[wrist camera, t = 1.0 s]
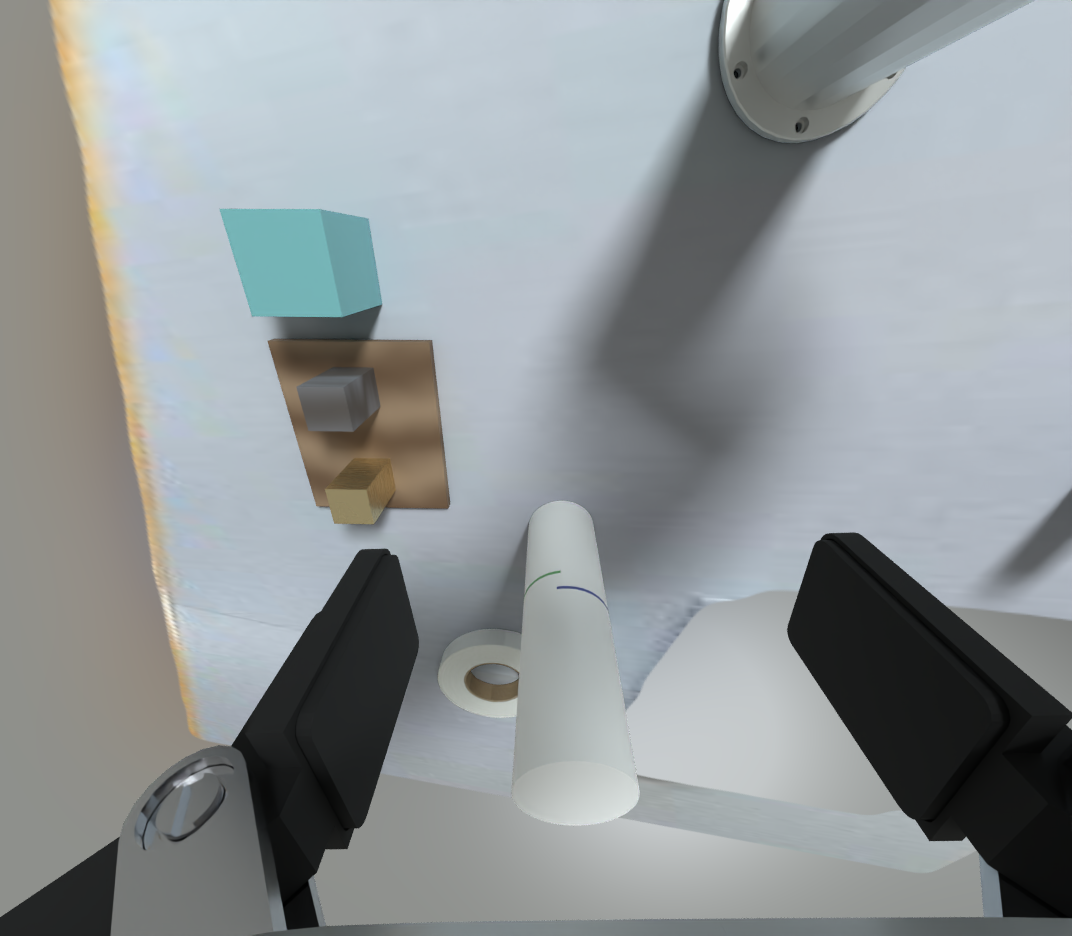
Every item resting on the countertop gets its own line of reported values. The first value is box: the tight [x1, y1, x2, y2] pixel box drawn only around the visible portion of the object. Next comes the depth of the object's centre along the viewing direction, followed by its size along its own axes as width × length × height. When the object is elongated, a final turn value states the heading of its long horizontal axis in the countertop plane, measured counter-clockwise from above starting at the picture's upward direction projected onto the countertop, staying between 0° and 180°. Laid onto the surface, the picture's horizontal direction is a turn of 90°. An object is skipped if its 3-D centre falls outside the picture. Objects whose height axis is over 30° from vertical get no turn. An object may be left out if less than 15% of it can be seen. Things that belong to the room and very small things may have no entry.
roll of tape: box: [438, 629, 522, 718], centre depth 55 cm, size 16×15×3 cm
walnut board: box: [268, 339, 450, 508], centre depth 37 cm, size 17×14×7 cm
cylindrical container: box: [511, 501, 640, 826], centre depth 34 cm, size 7×7×25 cm
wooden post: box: [325, 458, 396, 524], centre depth 38 cm, size 4×4×6 cm
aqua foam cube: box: [220, 209, 382, 317], centre depth 30 cm, size 6×6×8 cm
